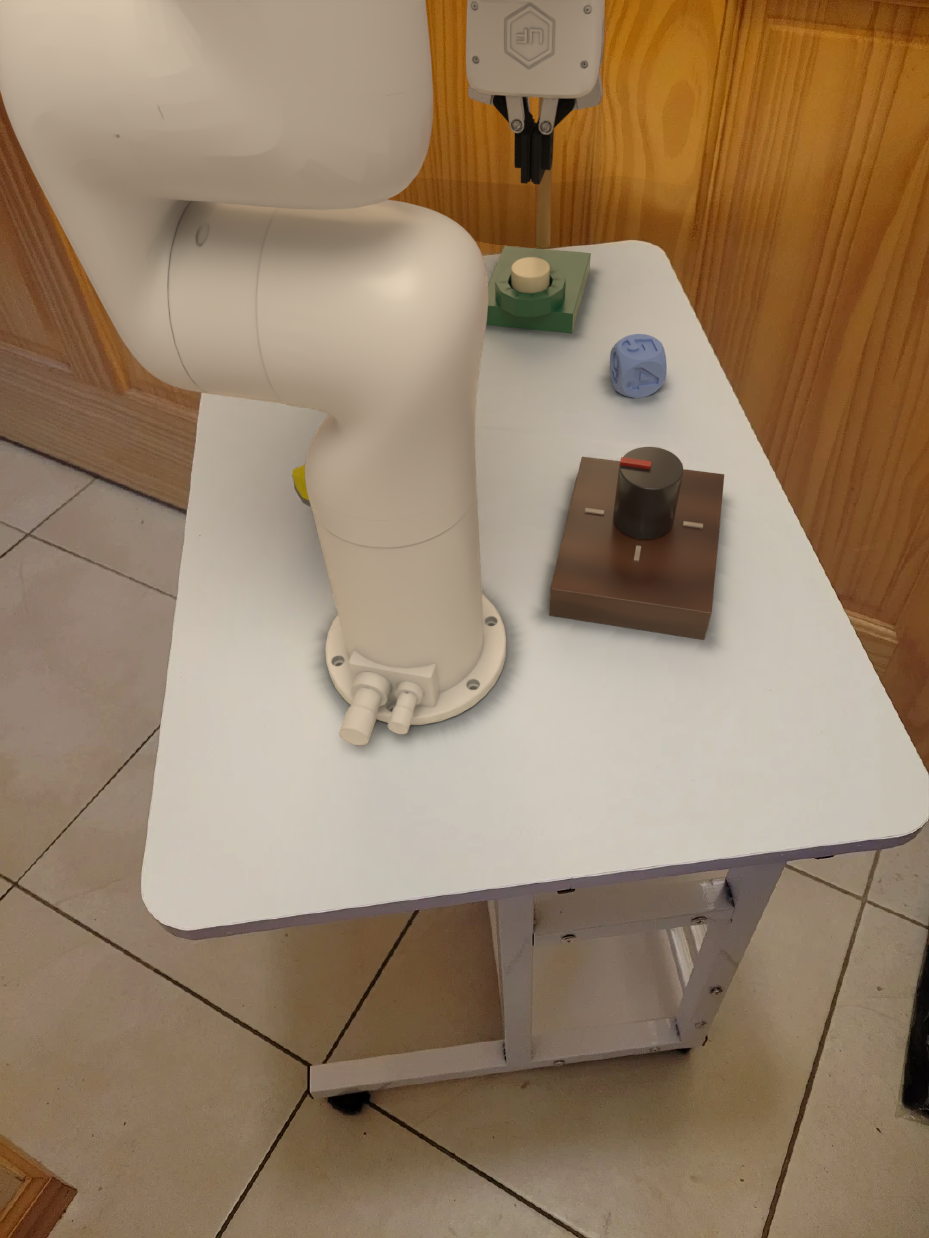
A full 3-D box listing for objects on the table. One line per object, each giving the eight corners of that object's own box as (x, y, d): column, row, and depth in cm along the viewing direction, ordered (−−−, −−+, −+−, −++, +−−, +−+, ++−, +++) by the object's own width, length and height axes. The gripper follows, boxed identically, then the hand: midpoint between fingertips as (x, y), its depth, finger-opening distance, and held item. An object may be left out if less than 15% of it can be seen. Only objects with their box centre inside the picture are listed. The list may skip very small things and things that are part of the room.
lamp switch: (545, 296, 84) (546, 279, 82) (507, 292, 84) (507, 275, 83) (552, 275, 86) (553, 258, 84) (515, 272, 86) (515, 255, 85)
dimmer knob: (677, 502, 67) (688, 447, 63) (669, 544, 64) (680, 490, 60) (618, 493, 68) (625, 438, 63) (608, 534, 65) (614, 480, 61)
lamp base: (569, 341, 85) (572, 304, 82) (477, 332, 87) (476, 295, 84) (589, 273, 92) (592, 235, 89) (504, 265, 94) (503, 228, 91)
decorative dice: (663, 395, 79) (669, 357, 76) (619, 401, 79) (623, 363, 76) (650, 368, 82) (656, 330, 79) (607, 374, 82) (611, 336, 79)
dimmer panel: (704, 640, 62) (712, 611, 60) (548, 615, 64) (550, 587, 62) (717, 502, 71) (725, 472, 68) (579, 484, 73) (581, 454, 70)
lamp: (567, 258, 87) (583, -62, 67) (511, 253, 88) (509, -63, 68) (576, 229, 90) (594, -84, 70) (522, 224, 91) (524, -85, 71)
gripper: (420, -80, 61) (437, 191, 75) (641, -77, 58) (615, 204, 72) (447, -108, 66) (458, 153, 80) (653, -106, 63) (626, 163, 77)
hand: (533, 176), depth 76 cm, fingers closed
